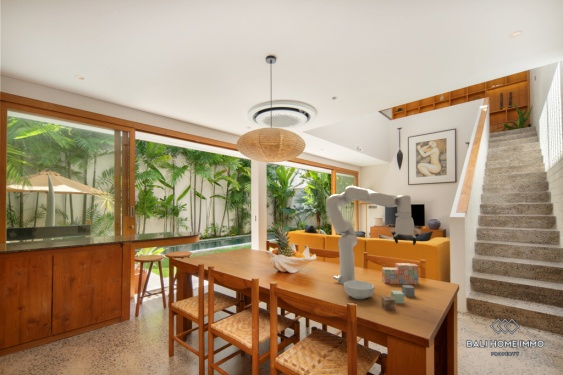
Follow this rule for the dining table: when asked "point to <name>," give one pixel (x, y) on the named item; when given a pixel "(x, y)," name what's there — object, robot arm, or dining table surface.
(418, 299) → the dining table surface
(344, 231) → the robot arm
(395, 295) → the sage green cube
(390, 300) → the walnut cube
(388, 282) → the stack of blocks
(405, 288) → the gray cube
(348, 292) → the cereal bowl
